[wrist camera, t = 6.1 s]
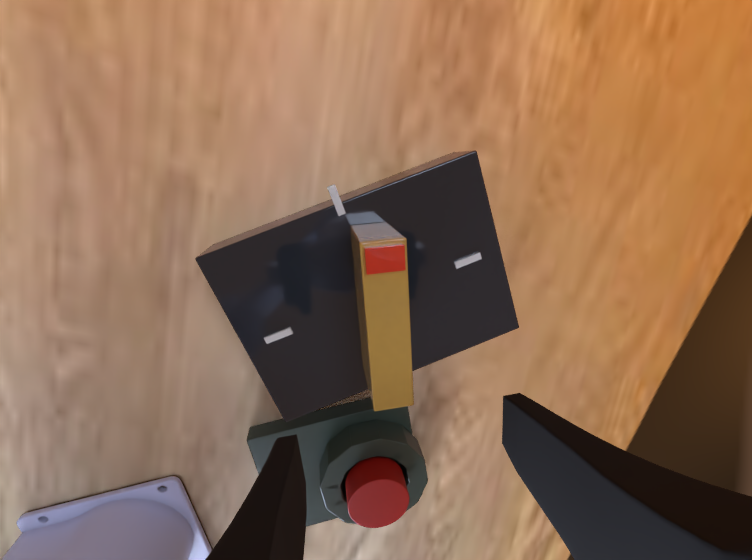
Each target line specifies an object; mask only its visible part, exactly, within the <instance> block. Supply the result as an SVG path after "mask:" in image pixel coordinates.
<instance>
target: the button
mask: <svg viewBox="0 0 752 560" xmlns="http://www.w3.org/2000/svg"><path fill="white" fill-rule="evenodd" d="M345 486H346V497H347V507H348V513H349V515H350V517H351V519H352V520H353V521H354V522H355V523H357V524H359V525H361V526H364V527H368V528H378V527H383V526H387V525H389V524H391V523H393V522H395V521H396V520H398V519H399V518H400V517H401V516H402V515H403V514H404V513H405V511H406V509H407V507H408V505H409V493H408V490H407V486H406V483H405V479H404V475H403V472H402V469H401V467H400V466H399V465H398V463H397V462H395V461H394V460H392V459H390V458H387V457H381V456H377V457H371V458H367V459H364V460H362V461H360V462H358V463H357V464H356V465H355V466H353V468H352V469H351V470H350V471H349V473H348V475H347V477H346V482H345Z"/></svg>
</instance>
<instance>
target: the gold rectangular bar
mask: <svg viewBox="0 0 752 560" xmlns="http://www.w3.org/2000/svg"><path fill="white" fill-rule="evenodd" d="M350 233H351V244H352V254H353V265H354V276H355V287H356V298H357V308H358V319H359V330H360V341H361V352H362V362H363V368H364V372H365V376H366V380H367V385H368V389H369V393H370V397H371V401H372V406H373V410H374V411H381V410H387V409H393V408H400V407H406V406H412V405H414V396H413V373H412V351H411V328H410V305H409V283H408V260H407V239H406V238H405V237H404V236H403V235H402V234H400V233H399V232H398V231H397V230H396V229H394V228H393V227H392V226H391V225H389V224H388V223H387V222H383V223H372V224H362V225H352V226H350Z"/></svg>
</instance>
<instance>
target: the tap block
mask: <svg viewBox="0 0 752 560" xmlns="http://www.w3.org/2000/svg"><path fill="white" fill-rule="evenodd" d="M327 188H328V190H329V193H330V195H331V198H332V199H330V200H328V201H325V202H322V203H320V204H317V205H315V206H312V207H309V208H307V209H304V210H302V211H299V212H296V213H294V214H291V215H288V216H286V217H283V218H281V219H278V220H275V221H273V222H270V223H268V224H265V225H262V226H260V227H257V228H255V229H252V230H249V231H247V232H244V233H242V234H239V235H236V236H234V237H231V238H228V239H226V240H223V241H221V242H218V243H215V244H213V245H212V246H210V247H209V248H208V249H206V250H205V251H204V252H203V253H201V254H200V255H199V256H197V257H196V258H195V259H196V261H197V263H198V265H199V267H200V269H201V270H202V272H203V274H204V276H205V278H206V279H207V281H208V283H209V285H210V287H211V288H212V290H213V292H214V294H215V296H216V297H217V299H218V301H219V303H220V305H221V306H222V308H223V310H224V312H225V314H226V315H227V317H228V319H229V321H230V323H231V324H232V326H233V328H234V330H235V332H236V333H237V335H238V337H239V339H240V341H241V342H242V344H243V346H244V348H245V350H246V351H247V353H248V355H249V357H250V359H251V361H252V362H253V364H254V366H255V368H256V370H257V371H258V373H259V375H260V377H261V379H262V380H263V382H264V384H265V386H266V388H267V389H268V391H269V393H270V395H271V397H272V398H273V400H274V402H275V404H276V406H277V407H278V409H279V411H280V413H281V415H282V416H283V418H284V420H285V422H288V421H291V420H293V419H296V418H298V417H301V416H303V415H305V414H308V413H310V412H313V411H315V410H318V409H320V408H323V407H325V406H328V405H330V404H333V403H335V402H337V401H340V400H342V399H345V398H347V397H350V396H352V395H355V394H357V393H360V392H362V391H365V390H367V389H368V385H367V380H366V376H365V372H364V368H363V362H362V352H361V341H360V330H359V319H358V308H357V298H356V287H355V276H354V265H353V254H352V244H351V233H350V226H352V225H362V224H372V223H383V222H387V223H388V224H389V225H391V226H392V227H393V228H394V229H396V230H397V231H398V232H399V233H400V234H402V235H403V236H404V237H405V238H406V239H407V260H408V283H409V305H410V328H411V351H412V371H414V370H416V369H419V368H421V367H424V366H426V365H429V364H431V363H433V362H436V361H438V360H441V359H443V358H446V357H448V356H451V355H453V354H456V353H458V352H461V351H463V350H466V349H468V348H470V347H473V346H475V345H478V344H480V343H483V342H485V341H488V340H490V339H493V338H495V337H498V336H500V335H502V334H505V333H507V332H510V331H512V330H515V329H517V328H519V325H518V321H517V317H516V313H515V309H514V304H513V300H512V296H511V292H510V288H509V284H508V280H507V275H506V271H505V267H504V263H503V259H502V255H501V251H500V246H499V242H498V238H497V234H496V230H495V226H494V222H493V217H492V213H491V209H490V205H489V201H488V197H487V193H486V188H485V184H484V180H483V176H482V172H481V168H480V164H479V159H478V155H477V152H476V151H464V152H453V153H450V154H448V155H445V156H442V157H440V158H437V159H435V160H432V161H429V162H427V163H424V164H422V165H419V166H416V167H414V168H411V169H409V170H406V171H403V172H401V173H398V174H395V175H393V176H390V177H388V178H385V179H382V180H380V181H377V182H375V183H372V184H369V185H367V186H364V187H362V188H359V189H356V190H354V191H351V192H349V193H346V194H343V195H341V196H339V194H338V192H337V189H336V186H335V184H333V185H331V186H328V187H327Z"/></svg>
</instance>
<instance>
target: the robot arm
mask: <svg viewBox="0 0 752 560" xmlns="http://www.w3.org/2000/svg"><path fill="white" fill-rule="evenodd" d="M502 444H503V446H504V448H505V450H506V452H507V454H508V456H509V458H510V460H511V462H512V463H513V465H514V467H515V469H516V471H517V473H518V474H519V476H520V477H521V479H522V480H523V482H524V483H525V485H526V486H527V488H528V489H529V491H530V492H531V494H532V495H533V497H534V498H535V500H536V501H537V502H538V504H539V505H540V507H541V508H542V510H543V511H544V513H545V514H546V516H547V517H548V519H549V520H550V522H551V523H552V525H553V526H554V528H555V529H556V530H557V532H558V533H559V535H560V537H561V538H562V540H563V541H564V543H565V544H566V546H567V548H568V549H569V551H570V553H571V555H572V556H573V558H574V560H752V497H751V496H747V495H744V494H740V493H737V492H734V491H731V490H727V489H724V488H721V487H718V486H714V485H711V484H708V483H705V482H702V481H699V480H696V479H693V478H690V477H688V476H685V475H682V474H680V473H677V472H674V471H672V470H669V469H666V468H664V467H661V466H659V465H656V464H654V463H651V462H649V461H647V460H644V459H642V458H640V457H638V456H635V455H633V454H631V453H628V452H626V451H624V450H622V449H620V448H618V447H616V446H614V445H612V444H610V443H608V442H606V441H604V440H602V439H600V438H598V437H596V436H594V435H592V434H590V433H588V432H587V431H585V430H583V429H581V428H579V427H577V426H576V425H574V424H572V423H570V422H569V421H567V420H565V419H563V418H562V417H560V416H558V415H557V414H555V413H553V412H551V411H550V410H548V409H546V408H545V407H543V406H541V405H540V404H538V403H536V402H535V401H533V400H531V399H529V398H528V397H526V396H524V395H522V394H520V393H517V394H512V395H506V396H503V432H502ZM162 486H165V487H162ZM306 518H307V502H306V480H305V475H304V469H303V464H302V459H301V454H300V449H299V444H298V439H297V434H295V435H290V436H284V437H279V438H277V439H276V441H275V442H274V445H273V447H272V449H271V451H270V453H269V456H268V458H267V460H266V462H265V464H264V466H263V468H262V470H261V472H260V474H259V476H258V477H257V479H256V481H255V483H254V485H253V487H252V488H251V490H250V492H249V494H248V496H247V497H246V499H245V501H244V502H243V504H242V506H241V507H240V509H239V511H238V512H237V514H236V515H235V517H234V519H233V520H232V522H231V524H230V525H229V527H228V528H227V530H226V531H225V533H224V534H223V536H222V537H221V539H220V540H219V541H218V543H217V544H216V546H215V547H214V548H213V550H212V549H211V546H210V544H209V542H208V540H207V537H206V535H205V533H204V531H203V529H202V526H201V524H200V522H199V520H198V518H197V515H196V513H195V511H194V509H193V506H192V504H191V502H190V500H189V498H188V495H187V493H186V491H185V489H184V487H183V484H182V482H181V480H180V479H179V478H178V477H175V476H170V477H166V478H162V479H158V480H154V481H150V482H146V483H142V484H138V485H134V486H130V487H126V488H122V489H118V490H114V491H110V492H106V493H103V494H99V495H95V496H91V497H87V498H83V499H79V500H75V501H71V502H67V503H63V504H59V505H55V506H51V507H47V508H43V509H39V510H35V511H31V512H27V513H24V514H23V515H22V516H21V517H20V518H19V519H18V520H17V526H18V527H19V529H20V530H21V532H22V534H21V535H20V536H19V538H18V539H17V540H16V541H15V543H14V544H13V545H12V546H11V548H10V549H9V550H8V551H7V553H6V554H5V555H4V556H3V558H2V559H1V560H303V555H304V543H305V531H306Z"/></svg>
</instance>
